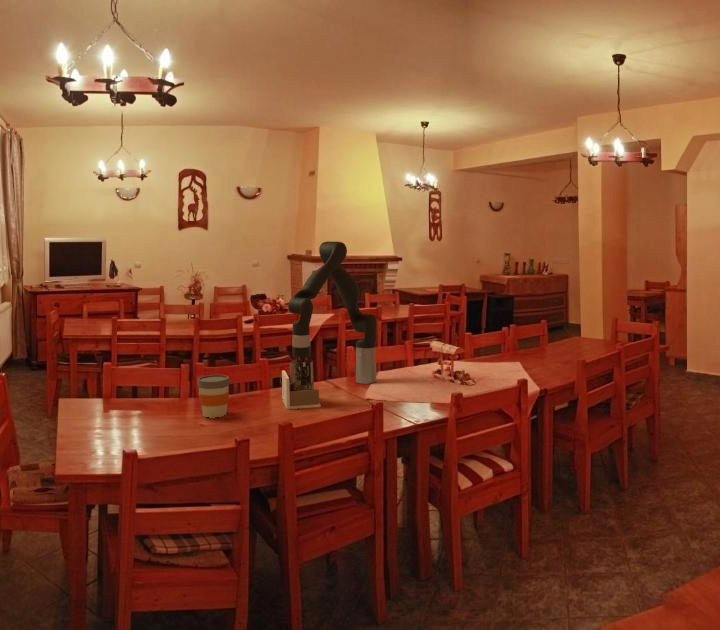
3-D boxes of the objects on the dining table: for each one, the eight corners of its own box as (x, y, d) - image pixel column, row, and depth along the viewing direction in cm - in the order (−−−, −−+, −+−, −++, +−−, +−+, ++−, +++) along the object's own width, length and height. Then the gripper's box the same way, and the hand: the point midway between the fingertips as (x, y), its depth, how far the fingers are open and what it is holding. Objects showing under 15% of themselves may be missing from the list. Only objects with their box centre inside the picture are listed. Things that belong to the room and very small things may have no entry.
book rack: (314, 397, 279) (313, 368, 278) (320, 406, 265) (320, 376, 263) (282, 399, 276) (281, 370, 274) (286, 409, 262) (286, 378, 260)
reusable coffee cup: (217, 408, 263) (216, 373, 261) (237, 414, 255) (236, 377, 253) (192, 415, 254) (190, 378, 251) (211, 421, 246) (210, 383, 244)
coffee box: (314, 396, 273) (313, 359, 271) (311, 400, 267) (311, 362, 265) (293, 396, 274) (292, 359, 272) (290, 400, 268) (289, 362, 266)
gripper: (313, 347, 261) (313, 386, 264) (307, 341, 275) (308, 378, 277) (294, 348, 260) (295, 387, 262) (290, 342, 273) (291, 379, 276)
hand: (302, 383), depth 270 cm, fingers closed on coffee box, 7 cm apart
